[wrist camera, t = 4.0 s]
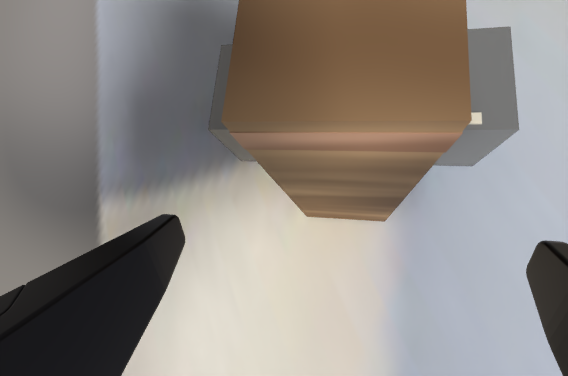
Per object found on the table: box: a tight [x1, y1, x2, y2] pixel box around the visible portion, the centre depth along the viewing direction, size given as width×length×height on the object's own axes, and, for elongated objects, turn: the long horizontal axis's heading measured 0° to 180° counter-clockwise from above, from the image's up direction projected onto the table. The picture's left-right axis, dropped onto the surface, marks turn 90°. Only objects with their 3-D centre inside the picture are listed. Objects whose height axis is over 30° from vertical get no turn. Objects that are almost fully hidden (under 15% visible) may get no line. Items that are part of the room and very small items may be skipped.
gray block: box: [208, 27, 519, 166], centre depth 17 cm, size 5×14×5 cm, turn 85°
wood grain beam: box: [221, 0, 472, 221], centre depth 12 cm, size 3×4×13 cm, turn 85°
